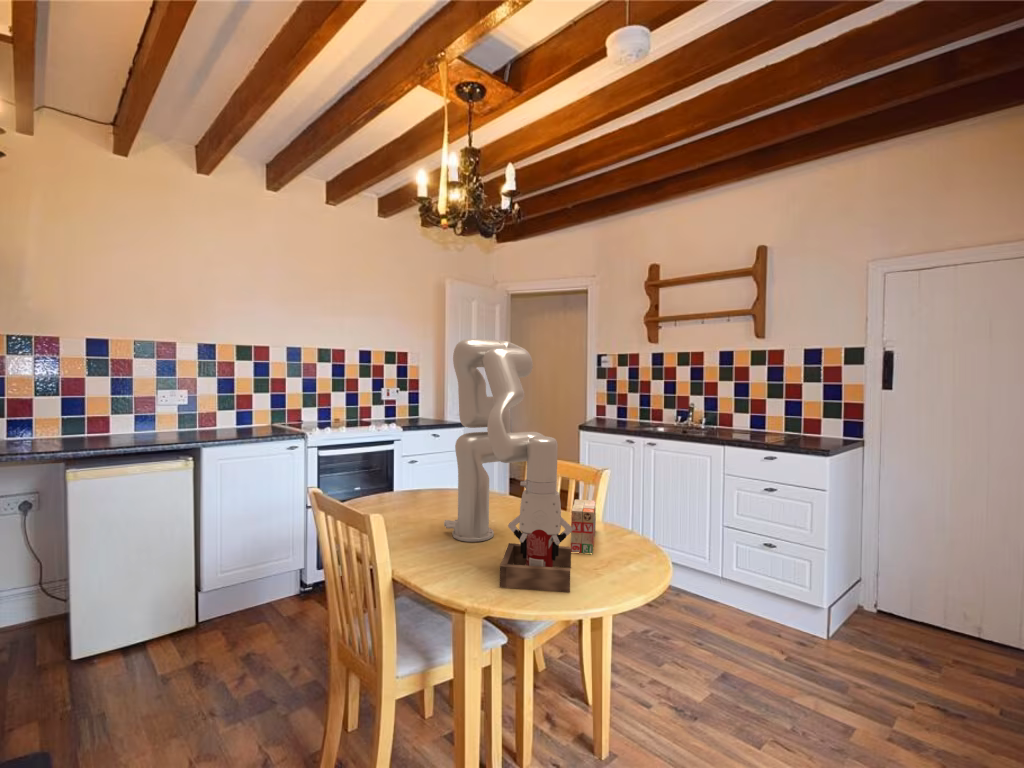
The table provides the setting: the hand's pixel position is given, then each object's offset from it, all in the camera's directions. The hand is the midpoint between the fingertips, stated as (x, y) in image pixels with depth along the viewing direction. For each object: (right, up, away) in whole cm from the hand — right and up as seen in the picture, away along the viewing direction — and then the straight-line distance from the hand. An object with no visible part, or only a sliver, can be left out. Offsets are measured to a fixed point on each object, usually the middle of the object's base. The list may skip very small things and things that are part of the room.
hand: (539, 556), depth 128 cm
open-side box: (-1, -5, 0) cm, 5 cm away
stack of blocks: (+15, -4, +26) cm, 30 cm away
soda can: (0, -3, 0) cm, 3 cm away
